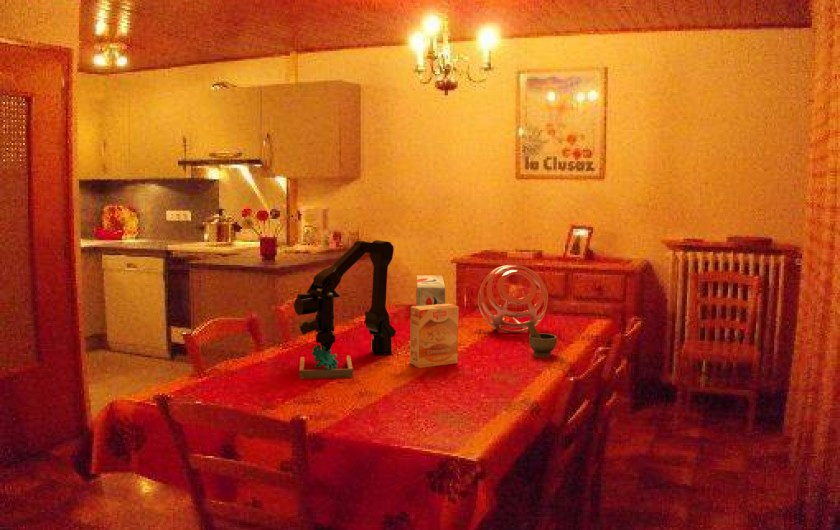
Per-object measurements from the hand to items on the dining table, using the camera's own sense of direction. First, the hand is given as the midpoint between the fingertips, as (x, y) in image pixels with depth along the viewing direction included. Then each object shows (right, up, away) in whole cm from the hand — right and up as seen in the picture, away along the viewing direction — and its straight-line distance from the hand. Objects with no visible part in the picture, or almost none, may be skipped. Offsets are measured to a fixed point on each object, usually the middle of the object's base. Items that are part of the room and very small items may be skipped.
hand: (325, 357), depth 248 cm
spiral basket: (+68, +4, +53) cm, 86 cm away
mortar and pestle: (+74, -1, +14) cm, 75 cm away
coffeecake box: (+36, -2, +2) cm, 36 cm away
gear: (+1, -3, -6) cm, 7 cm away
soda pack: (+36, +10, +97) cm, 104 cm away
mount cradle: (+1, -3, -8) cm, 9 cm away
